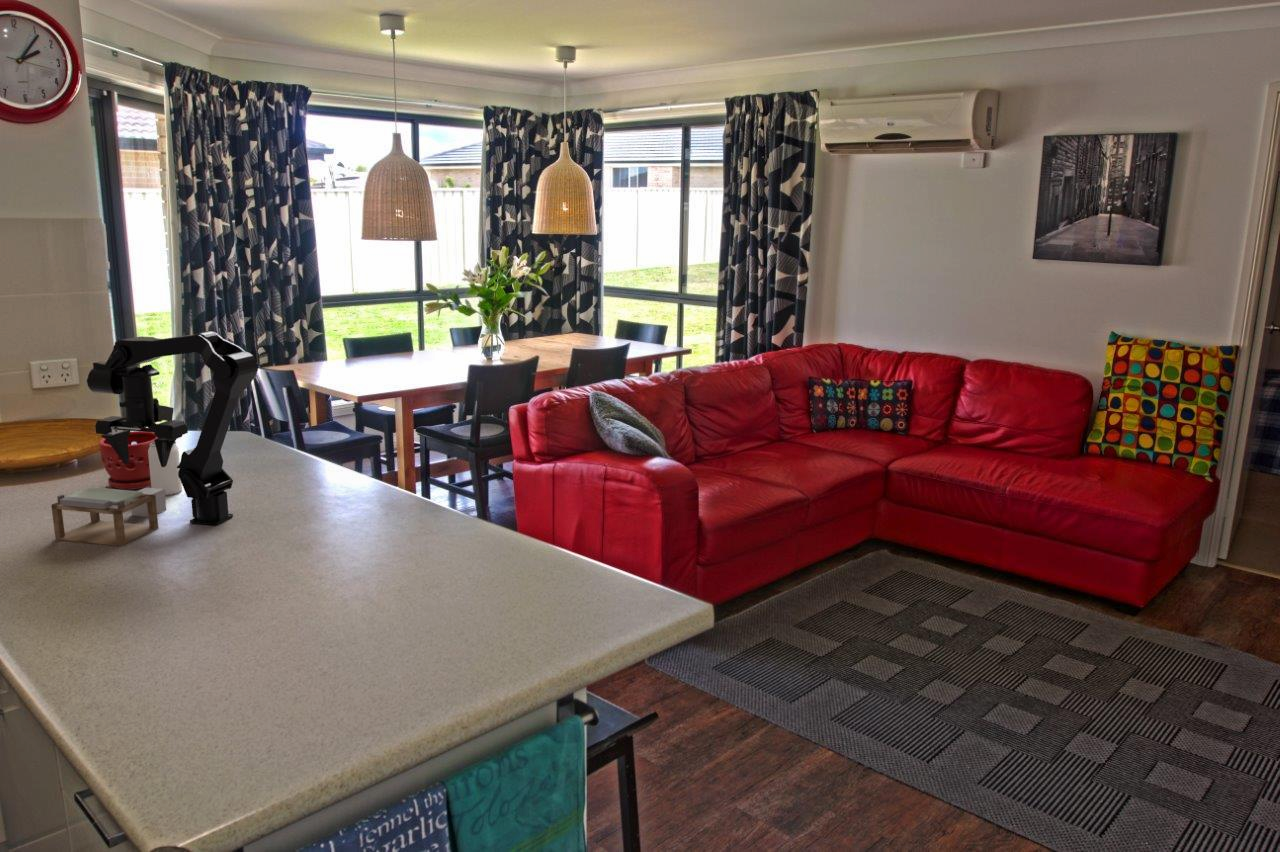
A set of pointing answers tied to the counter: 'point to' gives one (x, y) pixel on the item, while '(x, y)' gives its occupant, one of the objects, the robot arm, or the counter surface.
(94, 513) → the frame
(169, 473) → the can
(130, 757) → the counter surface
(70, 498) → the trapdoor
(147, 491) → the stone
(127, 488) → the plant pot
